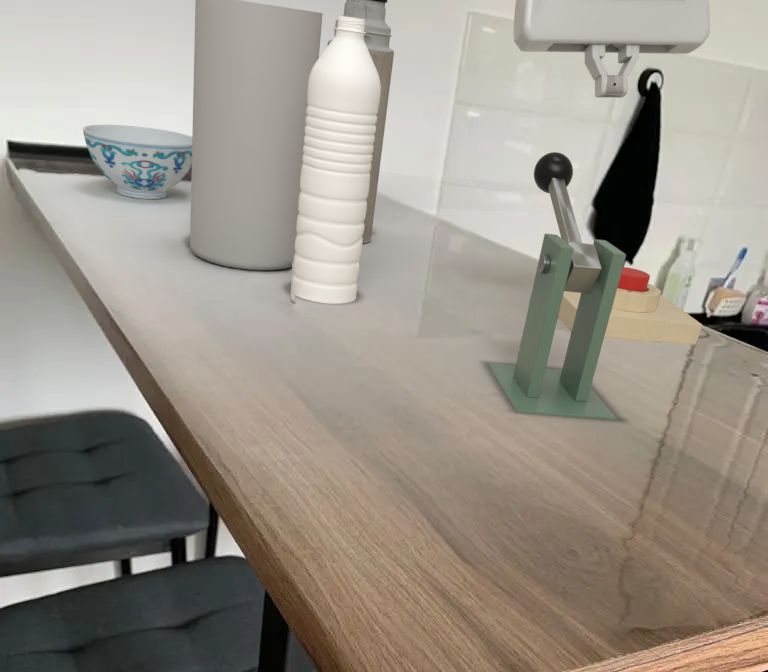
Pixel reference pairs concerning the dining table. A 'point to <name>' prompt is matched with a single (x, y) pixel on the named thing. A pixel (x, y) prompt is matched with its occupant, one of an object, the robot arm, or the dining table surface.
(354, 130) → the water bottle
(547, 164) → the lever
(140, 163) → the chinaware
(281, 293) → the dining table surface
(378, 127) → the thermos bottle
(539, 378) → the switch bracket
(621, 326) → the tan square base plate
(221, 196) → the cylinder vase
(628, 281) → the stop button
